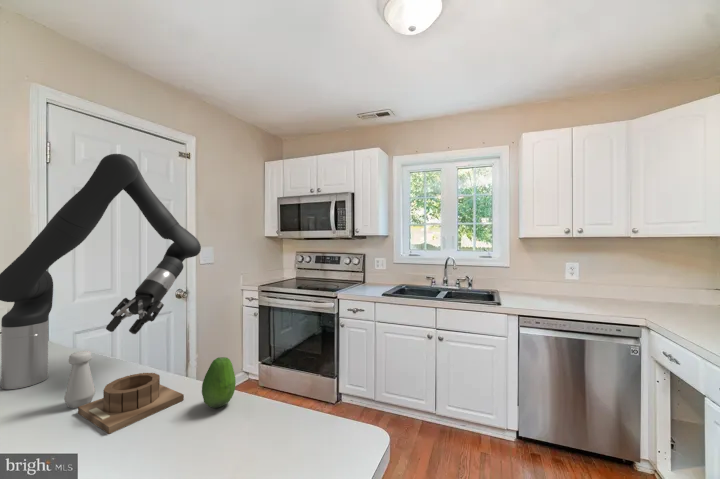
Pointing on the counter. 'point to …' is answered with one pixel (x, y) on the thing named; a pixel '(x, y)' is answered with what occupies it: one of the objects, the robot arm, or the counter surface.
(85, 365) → the salt shaker
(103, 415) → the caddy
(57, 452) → the counter surface
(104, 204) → the robot arm
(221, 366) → the avocado
